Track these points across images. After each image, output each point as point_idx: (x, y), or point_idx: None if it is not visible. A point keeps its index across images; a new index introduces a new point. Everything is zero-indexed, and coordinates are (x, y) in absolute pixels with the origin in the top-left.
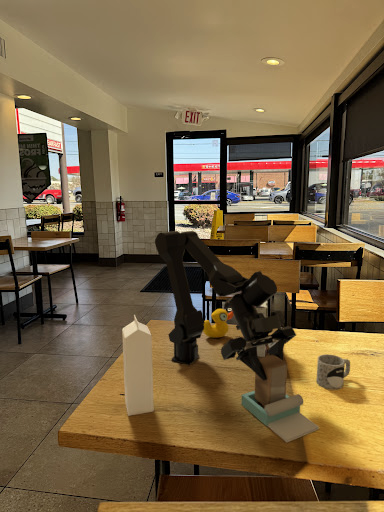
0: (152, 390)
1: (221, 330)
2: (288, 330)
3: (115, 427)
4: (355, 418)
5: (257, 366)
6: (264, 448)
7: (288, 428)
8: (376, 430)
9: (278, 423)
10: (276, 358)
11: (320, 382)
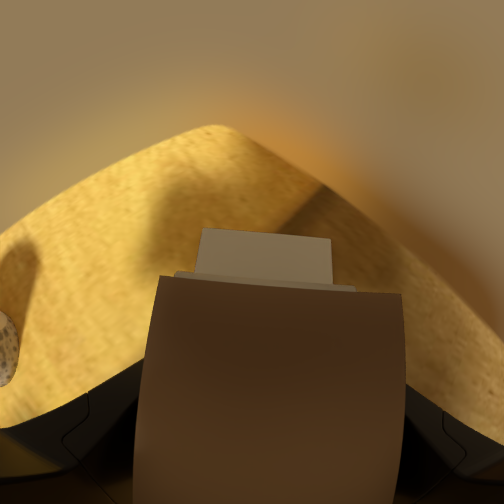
0: None
1: None
2: None
3: None
4: (92, 213)
5: (435, 411)
6: (390, 259)
7: (290, 270)
8: (108, 170)
9: None
10: (172, 427)
11: (10, 359)
